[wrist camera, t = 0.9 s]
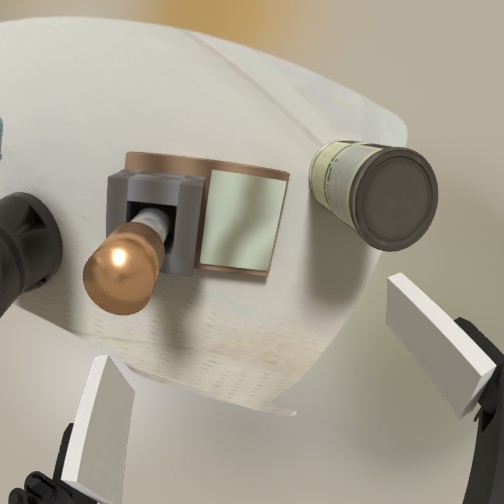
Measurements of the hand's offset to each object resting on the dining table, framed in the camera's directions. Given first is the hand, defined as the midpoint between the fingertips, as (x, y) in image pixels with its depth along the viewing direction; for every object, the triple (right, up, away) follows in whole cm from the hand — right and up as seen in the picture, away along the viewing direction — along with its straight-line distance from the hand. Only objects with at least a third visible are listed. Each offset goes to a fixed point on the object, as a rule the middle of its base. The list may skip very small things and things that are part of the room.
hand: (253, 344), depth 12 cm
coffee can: (+12, +14, +26) cm, 32 cm away
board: (-7, +9, +26) cm, 28 cm away
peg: (-11, +9, +23) cm, 27 cm away
